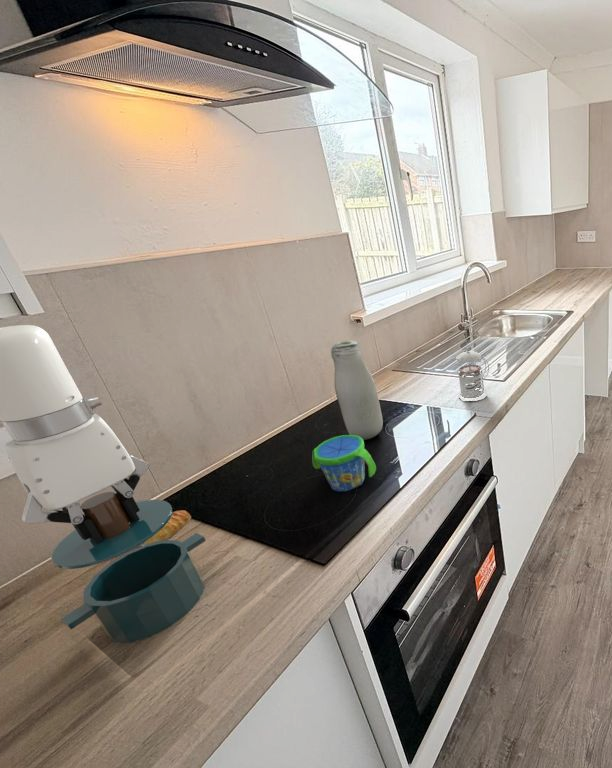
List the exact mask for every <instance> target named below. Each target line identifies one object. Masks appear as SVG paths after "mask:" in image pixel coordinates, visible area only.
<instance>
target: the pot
mask: <svg viewBox="0 0 612 768" xmlns="http://www.w3.org/2000/svg"><path fill="white" fill-rule="evenodd" d="M206 541H207V540H206V538H205V536H203V535H202V534H200V533H197V532H195V533H193V534H192V535H190V536H189V537H187V538H186V539H184V540H183V541H181V540H178V539H167V540H163V541H159V542H155V543H150V544H147V545H144V546H139V547H136V548H134V549H132V550H130V551H128V552H126V553H124V554H122V555H120V556H118V557H117V558H116V559H115V560H112V561H111V562H109V563H108V564H106V565H105V566H104V567H103V568H102V569H101V570H99V571H97V573H95V574H94V576H93V577H92V578H91V579H90V581H89V582H88V584H87V585H86V586H85V587H84V589H83V595H82V601H83V602H84V603H83V604H82V605H80V606H78V607H77V608H75V609H74V610H72V611H71V612H68V613H66V615H64V616H62V617H61V618H60V620H61V621H62V623H63V624H64V625H65V626H66V627H68V629H70V630H73V629H74V628H76V627H77V626H79V625H81V624H82V623H84V622H85V621H86V620H88V619H90V618H91V617H92V616H93V617H94V618H95V620H96V622H97V623H98V624H99V626H100V628H101V629H102V630H103V631H104V633H105V635H106V636H107V637H108V638H109V639H110V640H111V641H113V643H116V644H117V643H119V644H122V643H123V644H132V643H135V642H138V641H141V640H145V639H148V638H151V637H154V636H155V635H157V634H159V633H161V632H163V631H164V630H167V629H168V628H170V627H172V626H173V625H174V624H176V623H177V622H178V621H179V620H181V619H182V618H183V617H185V616H186V615H187V614H188V613H189V612H190V611H191V610H192V609H193V608H194V607H195V606H196V604H197V603H198V602H199V601H200V599H201V597H202V595H203V593H204V591H205V587H206V585H205V582H204V577H203V575H202V574H201V571H200V570H199V568H198V566H197V564H196V561H195V560H194V558H193V555H192V553H191V551H193V550H194V549H196V548H197V547H199V546H200V545H202V544H203V543H205V542H206Z"/></svg>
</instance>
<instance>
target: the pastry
mask: <svg viewBox="0 0 612 768" xmlns="http://www.w3.org/2000/svg"><path fill="white" fill-rule="evenodd" d="M191 519H192V516H191V514H190V513H189V512H188V511H186V510H184V509H183V510H176V511H173V513H172V516H171V518H170V520H169V521H168V522H167V524H166V525H165V526H164V527H163V528H162V529H161V530H160V531H159V532H158V533H156V534H155V535H154V536H153V537H151V538H150V539H148V540H147V541H145V542H144V543H142V544H141V545H139V547H142V546H144V545H147V544H150V543H155V542H159V541H163V540H169V539H170V538H172V537H173V536H174V535H175V534H177V533H178V532H179V531H180V530H182V528H184V527H185V526H186V525H188V523H189V522H190V521H191Z"/></svg>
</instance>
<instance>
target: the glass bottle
mask: <svg viewBox="0 0 612 768" xmlns="http://www.w3.org/2000/svg"><path fill="white" fill-rule="evenodd" d="M362 351H363V350H362V349H361V347H360V344H359V342H357V341H355V340H342V341H339V342H336V343H335V344H333V345H332V347H331V350H330V353H331V354H330V356H331V358H332V360H333V366H334V392H335V395H336V398H337V402H338V406H339V408H340V412H341V416H342V419H343V422H344V425H345V428H346V430H347V433H348V435H356V436H359V437H361V438H362V439H363V441H366V440H370V439H373V438H374V437H376V436H377V435H379V434H380V433H381V431H382V430H383V427H384V426H383V425H384V420H383V414H382V410H381V404H380V400H379V395H378V391H377V390H378V389H377V386H376V383H375V380H374V377H373V375H372V373H371V372H370V370H369V369H368V367H367V365H366V362H365V361H364V358H363V355H362V354H363V353H362Z"/></svg>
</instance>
